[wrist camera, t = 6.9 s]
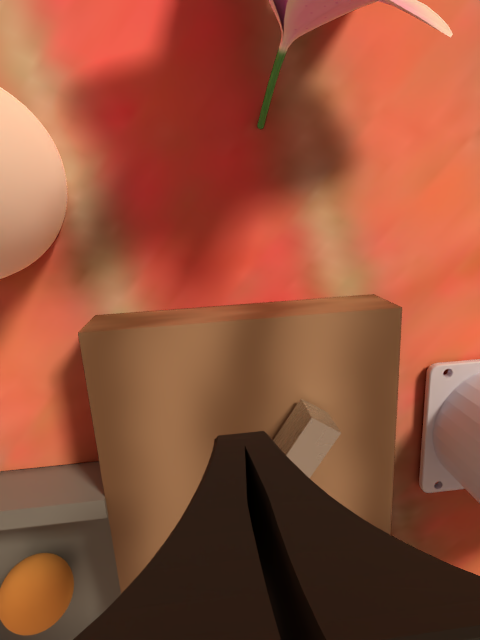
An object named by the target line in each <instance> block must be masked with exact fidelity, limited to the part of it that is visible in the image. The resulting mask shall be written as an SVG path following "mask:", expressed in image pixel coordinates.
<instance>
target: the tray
mask: <svg viewBox="0 0 480 640" xmlns="http://www.w3.org/2000/svg"><path fill="white" fill-rule="evenodd" d="M39 553H52V554H55V555H58V556H60V557H61V558H63V559H64V560H65V561H66V562H67V563H68V565H69V566H70V568H71V570H72V573H73V577H74V590H73V595H72V599H71V601H70V604H69V606H68V608H67V609H66V611H65V613H64V614H63V615H62V617H61V618H60V619H59V620H58V621H57V622H56V623H55V624H54V625H52V626H51V627H50V628H48V629H47V630H45V631H43V632H40V633H38V634H34V635H19V634H15V633H13V632H11V631H9V630H8V629H7V628H6V627H5V626H4V625H3V623H2V622H1V620H0V640H73V639H74V638H75V637H76V636H78V635H79V634H80V633H81V632H82V631H83V630H84V629H85V628H86V627H88V626H89V625H90V624H91V623H92V622H93V621H94V620H95V619H97V618H98V617H99V616H100V615H101V614H102V613H103V612H104V611H105V610H106V609H107V608H108V607H109V606H110V605H111V604H112V603H113V602H114V601H115V600H116V599H117V598H118V597H119V596H120V594H121V590H120V584H119V578H118V572H117V566H116V560H115V554H114V548H113V542H112V536H111V530H110V524H109V518H108V512H107V506H106V500H105V494H104V487H103V481H102V475H101V469H100V463H99V461H97V462H87V463H78V464H68V465H58V466H49V467H39V468H30V469H20V470H10V471H1V472H0V588H1V585H2V583H3V581H4V579H5V578H6V576H7V575H8V573H9V572H10V571H11V570H12V569H13V568H14V567H15V566H16V565H17V564H18V563H19V562H21V561H22V560H24V559H25V558H27V557H29V556H32V555H35V554H39Z"/></svg>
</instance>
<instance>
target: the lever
mask: <svg viewBox="0 0 480 640" xmlns="http://www.w3.org/2000/svg"><path fill="white" fill-rule="evenodd" d="M340 434H341V432H340V430H339V429H338V427H337V426H336V424H335V423H334V421H333V420H332V418H331V417H330V415H329V414H328V412H326V411H324V410H322V409H320V408H318V407H316V406H315V405H313V404H311V403H309V402H307V401H305V400H303V399H300V401H299V402H298V404H297V405H296V407H295V408H294V410H293V411H292V413H291V414H290V416H289V417H288V419H287V420H286V422H285V423H284V425H283V426H282V428H281V429H280V431H279V432H278V434H277V435H276V437H275V438H274V440H273V441H274V442H275V443H276V445H277V446H278V447H279V448H280V449H281V450H282V451H283V452H284V453H285V455H286V456H287V457H288V458H289V459H290V460H291V461H292V462H293V463H294V464H295V465H296V466H297V467H298V468H299V469H300V470H301V471H302V472H303V473H304V474H305V475H307V476H308V477H309V478H310V477H311V476H312V474H313V473H314V471H315V470H316V468H317V467H318V466H319V464H320V463H321V461H322V460H323V458H324V457H325V456H326V454H327V453H328V451H329V450H330V448H331V447H332V446H333V444H334V443H335V441H336V440H337V438H338V437H339V435H340Z"/></svg>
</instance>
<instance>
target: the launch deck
mask: <svg viewBox="0 0 480 640" xmlns="http://www.w3.org/2000/svg"><path fill="white" fill-rule="evenodd" d="M401 321H402V307H400V306H398V305H396V304H394V303H391V302H389V301H387V300H385V299H383V298H381V297H378V296H376V295H374V294H373V295H360V296H346V297H333V298H320V299H306V300H293V301H280V302H267V303H253V304H240V305H227V306H213V307H200V308H187V309H173V310H160V311H147V312H134V313H120V314H107V315H95V316H94V317H93V318H92V319H91V320H90V321H89V322H88V323H87V324H86V325H85V326H84V327H83V328H82V329H81V330H80V331H79V332H78V336H79V342H80V348H81V354H82V360H83V366H84V372H85V378H86V385H87V391H88V397H89V403H90V409H91V415H92V421H93V427H94V433H95V439H96V445H97V451H98V457H99V463H100V469H101V475H102V481H103V487H104V494H105V500H106V506H107V512H108V518H109V524H110V530H111V536H112V542H113V548H114V554H115V560H116V566H117V572H118V578H119V584H120V590H121V593H122V592H123V591H124V590H125V589H126V588H127V587H128V586H129V585H130V584H131V583H132V581H133V580H134V579H135V578H136V577H137V576H138V575H139V574H140V573H141V572H142V570H143V569H144V568H145V567H146V566H147V564H148V563H149V562H150V561H151V559H152V558H153V557H154V555H155V554H156V553H157V551H158V550H159V549H160V547H161V546H162V545H163V544H164V542H165V541H166V540H167V538H168V537H169V535H170V534H171V532H172V531H173V529H174V528H175V526H176V525H177V523H178V522H179V520H180V519H181V517H182V515H183V514H184V512H185V510H186V508H187V507H188V505H189V503H190V501H191V499H192V497H193V495H194V493H195V492H196V490H197V488H198V486H199V484H200V482H201V479H202V477H203V474H204V472H205V470H206V467H207V465H208V462H209V459H210V457H211V453H212V450H213V446H214V439H215V438H216V437H217V436H218V435H228V434H238V433H248V432H258V431H265V432H266V433H267V434H268V435H269V436H270V438H271V439H272V440H274V438H275V437H276V435H277V434H278V432H279V431H280V429H281V428H282V426H283V425H284V423H285V422H286V420H287V419H288V417H289V416H290V414H291V413H292V411H293V410H294V408H295V407H296V405H297V404H298V402H299V401H300V399H303V400H305V401H307V402H309V403H311V404H313V405H315V406H316V407H318V408H320V409H322V410H324V411H326V412H328V414H329V415H330V417H331V418H332V420H333V421H334V423H335V424H336V426H337V427H338V429H339V430H340V432H341V434H340V435H339V437H338V438H337V440H336V441H335V443H334V444H333V446H332V447H331V448H330V450H329V451H328V453H327V454H326V456H325V457H324V458H323V460H322V461H321V463H320V464H319V466H318V467H317V468H316V470H315V471H314V473H313V474H312V476H311V477H310V479H311V480H312V481H313V482H314V483H315V484H317V485H318V486H319V487H320V488H321V489H322V490H324V491H325V492H326V493H327V494H328V495H330V496H331V497H332V498H334V499H335V500H336V501H338V502H339V503H340V504H342V505H343V506H345V507H346V508H348V509H349V510H351V511H352V512H353V513H355V514H356V515H358V516H359V517H361V518H362V519H364V520H366V521H367V522H369V523H370V524H372V525H374V526H376V527H377V528H379V529H381V530H383V531H384V532H386V533H388V534H389V535H391V517H392V498H393V478H394V458H395V439H396V419H397V399H398V380H399V360H400V340H401Z"/></svg>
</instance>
